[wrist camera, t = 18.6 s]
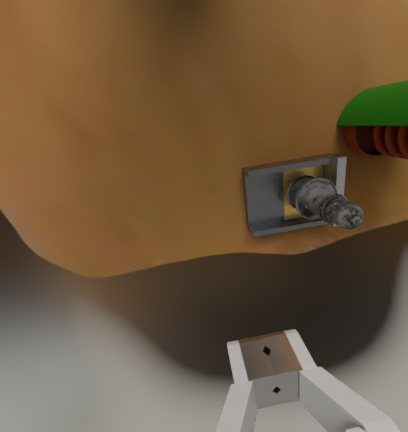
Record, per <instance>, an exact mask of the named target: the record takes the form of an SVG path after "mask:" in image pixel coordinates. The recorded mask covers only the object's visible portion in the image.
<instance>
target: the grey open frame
mask: <svg viewBox="0 0 408 432" xmlns="http://www.w3.org/2000/svg"><path fill="white" fill-rule="evenodd" d="M346 162H347V156H341V155H335V154H323V155H317V156H311V157H305V158H299V159H293V160H287V161H281V162H275V163H270V164H264V165H258V166H252V167H246V168H242V169H243V180H244V191H245V203H246V214H247V225H248V230H249V232H250V233H251V235H252V236H253V237H257V236H263V235H269V234H275V233H280V232H286V231H292V230H298V229H303V228H309V227H315V226H321V225H326V224H330V225H332V226H333V227H334V226H338V225H336V224H334V223H333V222H331V223H330V222H326V221H324V220H322V219H321V218H318V219H307V218H304V217H302V216H301V215H300V214H299V213H298V211H297V210H296V208H293V207H292V206H291V205H290V204H289V202H288V200H287V190H288V187H289V186H290V184H291V183H292V182H293V181H294V180H295V179H296V178H298V177H301V176H305V175H309V176H313V177H315V178H325V179H328V180H330V181H331V182H332V183H333V184H334V185H335V187H336V188H337V194H341V195H343V196H344V186H345V174H346Z"/></svg>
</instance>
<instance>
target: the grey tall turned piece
mask: <svg viewBox="0 0 408 432" xmlns="http://www.w3.org/2000/svg"><path fill="white" fill-rule="evenodd" d="M287 200H288V202H289V204H290V205H291V206H292V207H293V208H296V210H297V211H298V213H299V214H300V215H301V216H302V217H304V218H307V219H318V218H321V219H322V220H324V221H326V222H330V223H331V222H333V223H334V224H336V225H338V226H339V227H341V228H343V229H353V228H356V227H357V226H359V225H361V224H363V222H362V220H363V216H364V215H363V210H362V209H361V208H360V207H359V206H357V205H355V204H353V203H351V202H348V201H347V199H346V197H345V196H343V195H341V194H337V188H336V187H335V185H334V184H333V183H332V182H331V181H330V180H328V179H325V178H315V177H313V176H309V175H305V176H301V177H298V178H296V179H295V180H294V181H293V182H292V183H291V184H290V186H289V187H288V190H287Z"/></svg>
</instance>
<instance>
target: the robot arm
mask: <svg viewBox="0 0 408 432" xmlns="http://www.w3.org/2000/svg"><path fill="white" fill-rule="evenodd" d="M227 348H228V353H229V358H230V363H231V369H232V374H233V379H234V384H232V385H231V386H230V389H229V392H228V395H227V398H226V401H225V404H224V407H223V410H222V413H221V416H220V419H219V422H218V425H217V428H216V431H215V432H253V430H254V425H255V420H256V415H257V409H259V408H264V407H268V406H272V405H276V404H282V403H288V402H294V401H299V402H300V403H301V404H302V405H303V406H304V407H305V408H306V409H307V410H308V411H309V412H310V413H311V415H312V416H313V417H314V418H315V419H316V420H317V421H318V422H319V423H320V424H321V425H322V426H323V427H324V428H325V429H326V430H327V431H328V432H400V431H399V429H398V428H397V426H396V425H395V424H394V422H393V421H392V419H391V418H389V417H388V416H387V415H385V414H384V413H383V412H381V411H380V410H379V409H377V408H376V407H374V406H373V405H372V404H370V403H369V402H368V401H366V400H365V399H364V398H362V397H361V396H359V395H358V394H357V393H355V392H354V391H353V390H352V389H350V388H349V387H347V386H346V385H345V384H343V383H342V382H341V381H339V380H338V379H337V378H335V377H334V376H333V375H331V374H330V373H328V372H327V371H326V370H325V369H323V368H322V367H317V366H316V364H315V363H314V361H313V359H312V357H311V355H310V353H309V352H308V350H307V348H306V346H305V344H304V342H303V341H302V339H301V338H300V335H299V333H298V332H297V330H295V329H292V330H287V331H281V332H276V333H271V334H267V335H263V336H259V337H254V338H248V339H242V340H236V341H231V342H227Z"/></svg>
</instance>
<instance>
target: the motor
mask: <svg viewBox="0 0 408 432" xmlns="http://www.w3.org/2000/svg"><path fill="white" fill-rule="evenodd" d="M337 126H345V129H344V139H345V143H346V145H347V147H348V148H349V149H350V150H351V151H352V152H354V153H356V154H361V155H367V156H382V155H385V156H390V157H398V158H403V159H408V81H403V82H398V83H393V84H388V85H383V86H378V87H374V88H370V89H367V90H365V91H363V92H361V93H360V94H358V95H357V96H356V97H354V98H353V99H352V100H351V101H350V102H349V103H348V104H347V106H346V107H345V109H344V110H343V112H342V114H341V115H340V118H339V120H338V123H337ZM369 126H372V128H371V129H369Z"/></svg>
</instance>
